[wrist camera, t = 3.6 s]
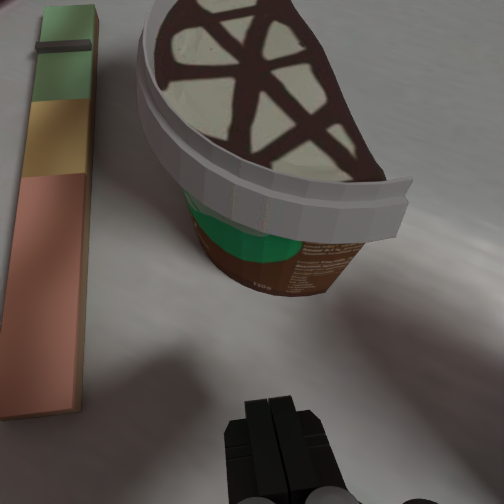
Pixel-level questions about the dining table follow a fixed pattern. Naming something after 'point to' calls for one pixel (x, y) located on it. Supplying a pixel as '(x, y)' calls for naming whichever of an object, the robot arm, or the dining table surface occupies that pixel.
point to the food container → (261, 143)
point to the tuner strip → (52, 225)
